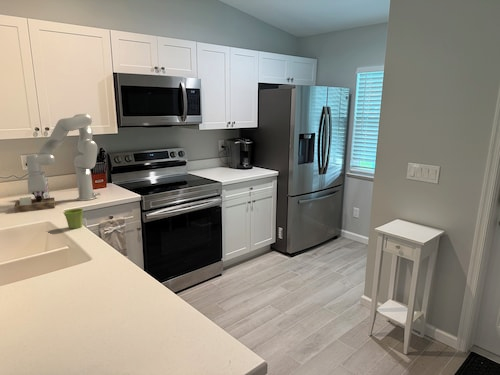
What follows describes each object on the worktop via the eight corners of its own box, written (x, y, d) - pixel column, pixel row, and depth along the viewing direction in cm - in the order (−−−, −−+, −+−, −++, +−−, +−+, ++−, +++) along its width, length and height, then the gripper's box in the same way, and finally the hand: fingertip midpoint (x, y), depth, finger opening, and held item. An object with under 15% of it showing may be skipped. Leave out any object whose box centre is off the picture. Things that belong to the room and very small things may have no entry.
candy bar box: (50, 199, 251) (47, 176, 248) (43, 200, 247) (40, 177, 244) (41, 197, 256) (38, 176, 253) (34, 199, 252) (31, 177, 249)
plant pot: (61, 228, 175) (59, 211, 174) (80, 223, 183) (78, 207, 181) (70, 231, 170) (68, 214, 168) (88, 226, 177) (87, 210, 176)
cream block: (31, 202, 224) (31, 196, 224) (31, 204, 220) (30, 198, 219) (20, 204, 221) (20, 198, 221) (20, 205, 217) (19, 199, 216)
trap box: (54, 203, 237) (54, 195, 236) (54, 208, 221) (53, 200, 220) (18, 207, 226) (17, 199, 226) (15, 212, 211) (14, 204, 210)
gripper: (48, 172, 228) (52, 199, 231) (22, 174, 220) (26, 202, 224) (48, 173, 221) (52, 201, 224) (21, 175, 214) (25, 204, 217)
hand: (39, 201), depth 224 cm, fingers closed
